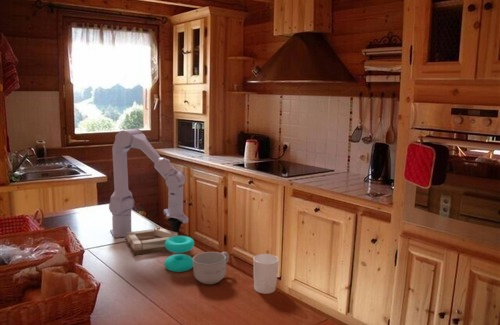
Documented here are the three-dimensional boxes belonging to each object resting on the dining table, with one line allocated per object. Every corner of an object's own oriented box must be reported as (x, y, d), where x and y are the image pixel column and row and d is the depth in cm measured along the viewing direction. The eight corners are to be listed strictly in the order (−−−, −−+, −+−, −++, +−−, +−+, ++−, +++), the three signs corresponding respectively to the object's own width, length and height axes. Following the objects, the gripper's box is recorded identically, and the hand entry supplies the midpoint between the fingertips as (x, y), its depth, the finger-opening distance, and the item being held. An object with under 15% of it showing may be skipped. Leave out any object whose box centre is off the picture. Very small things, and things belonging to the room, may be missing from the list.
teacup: (204, 291, 130) (204, 266, 128) (185, 278, 138) (186, 255, 137) (240, 279, 139) (240, 256, 137) (220, 267, 147) (221, 245, 145)
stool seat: (125, 243, 166) (125, 232, 165) (160, 238, 172) (160, 227, 172) (134, 256, 154) (134, 244, 153) (171, 250, 160) (171, 239, 159)
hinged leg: (153, 234, 170) (153, 227, 169) (158, 233, 172) (158, 225, 171) (173, 240, 164) (173, 233, 163) (177, 238, 166) (177, 231, 166)
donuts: (175, 232, 151) (199, 237, 147) (175, 259, 153) (199, 264, 149) (158, 241, 142) (183, 247, 138) (158, 269, 144) (183, 275, 140)
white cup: (248, 284, 135) (249, 255, 133) (271, 281, 138) (272, 252, 136) (257, 296, 128) (259, 265, 126) (281, 292, 131) (283, 262, 129)
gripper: (157, 200, 169) (157, 232, 171) (177, 208, 158) (177, 243, 161) (172, 197, 173) (171, 229, 176) (193, 205, 163) (192, 239, 166)
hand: (175, 235), depth 169 cm, fingers closed, pressing on hinged leg
